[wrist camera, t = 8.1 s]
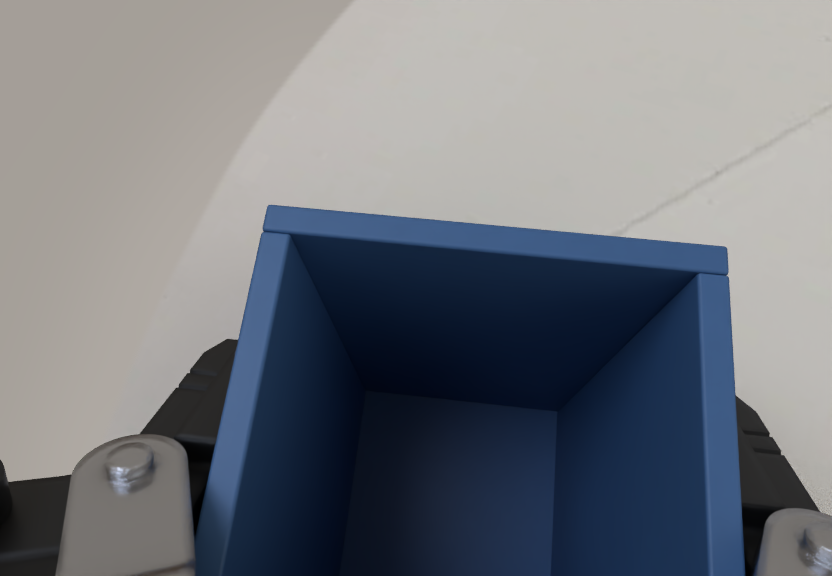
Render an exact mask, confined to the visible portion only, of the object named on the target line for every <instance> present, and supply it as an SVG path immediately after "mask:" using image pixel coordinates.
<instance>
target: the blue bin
mask: <svg viewBox="0 0 832 576" xmlns="http://www.w3.org/2000/svg"><path fill="white" fill-rule="evenodd" d="M263 231H264V232H263V233H262V234H261V238H260V243H259V247H258V252H257V256H256V261H255V266H254V270H253V275H252V279H251V284H250V288H249V293H248V298H247V302H246V307H245V311H244V316H243V320H242V325H241V330H240V334H239V339H238V343H237V348H236V352H235V357H234V362H233V366H232V371H231V375H230V380H229V384H228V389H227V394H226V398H225V403H224V407H223V412H222V416H221V421H220V426H219V430H218V435H217V439H216V444H215V448H214V453H213V458H212V462H211V467H210V471H209V476H208V480H207V485H206V490H205V494H204V499H203V503H202V508H201V512H200V517H199V522H198V526H197V531H196V535H195V549H196V562H197V575H198V576H745V559H744V541H743V524H742V506H741V488H740V470H739V452H738V434H737V416H736V398H735V380H734V362H733V344H732V326H731V308H730V290H729V278H728V276H727V275H728V254H727V248H726V247H723V246H712V245H702V244H691V243H680V242H669V241H658V240H647V239H636V238H626V237H615V236H604V235H593V234H582V233H571V232H560V231H550V230H539V229H528V228H517V227H506V226H495V225H484V224H473V223H463V222H452V221H441V220H430V219H419V218H408V217H397V216H387V215H376V214H365V213H354V212H343V211H332V210H321V209H310V208H300V207H289V206H278V205H268V207H267V211H266V215H265V220H264V224H263Z"/></svg>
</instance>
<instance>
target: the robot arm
mask: <svg viewBox="0 0 832 576" xmlns="http://www.w3.org/2000/svg"><path fill="white" fill-rule="evenodd" d="M237 343H238V340H232V339H226V340H225V341H223V342H221V343H219V344H218V345H216V346H214V347H213V348H211V349H209V350H208V351H206V352H204V353H203V354H202V356H201V357H200V358H199V360H198V361H197V362H196V363H195V365H194V366H193V367H192V368H191V370H190V373H187V375H186V376H185V377H184V379H183V380H182V381H181V382H180V384H179V388H176V389H175V390H174V391H173V392H172V394H171V395H170V396H169V398H168V399H167V400H166V401H165V403H164V404H163V405H162V406H161V408H160V409H159V410H158V411H157V413H156V414H155V415H154V417H153V418H152V419H151V420H150V422H149V423H148V424H147V425H146V427H145V428H144V429H143V430H142V432H141V433H140V434H138V435H130V436H125V437H121V438H118V439H115V440H112V441H109V442H107V443H104V444H102V445H100V446H99V447H97V448H95V449H94V450H92V451H91V452H89V453H88V454H87V455H85V456H84V457H83V458H82V459H81V460H80V461H79V463H78V464H77V465H76V467H75V468H74V470H73V473H72V475H66V476H59V477H51V478H41V479H32V480H23V481H14V482H8V481H7V477H6V473H5V469H4V465H3V463H2V461H1V460H0V576H198V575H197V562H196V549H195V535H196V531H197V526H198V522H199V517H200V512H201V508H202V503H203V499H204V494H205V490H206V485H207V480H208V476H209V471H210V467H211V462H212V458H213V453H214V448H215V444H216V439H217V435H218V430H219V426H220V421H221V416H222V412H223V407H224V403H225V398H226V394H227V389H228V384H229V380H230V375H231V371H232V366H233V362H234V357H235V352H236V348H237ZM735 398H736V416H737V434H738V452H739V470H740V488H741V506H742V524H743V541H744V559H745V576H832V516H830V515H827V514H824V513H821V512H820V511H819V509H818V508H817V506H816V505H815V503H814V502H813V500H812V498H811V497H810V495H809V494H808V492H807V491H806V489H805V488H804V486H803V484H802V483H801V481H800V480H799V478H798V477H797V475H796V473H795V472H794V470H793V469H792V467H791V466H790V464H789V463H788V461H787V459H786V458H785V456H784V455H781V450H780V448H779V447H778V445H777V444H776V442H775V441H774V439H773V438H772V437H769V434H770V433H769V431H768V430H767V428H766V427H765V425H764V423H763V422H762V420H761V419H760V417H759V416H758V414H757V413H756V411H754V410H753V409H752V408H751V407H749V406H748V405H747V404H746V403H744V402H743V401H742V400H741V399H739V398H738V397H737V396H736V395H735Z"/></svg>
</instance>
